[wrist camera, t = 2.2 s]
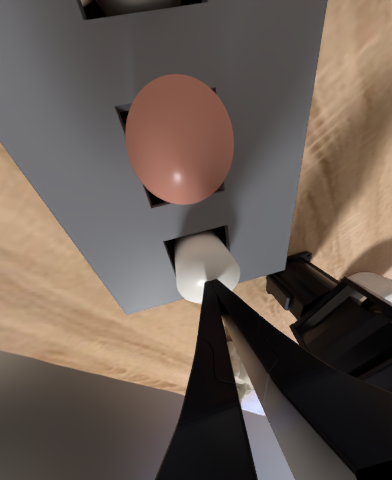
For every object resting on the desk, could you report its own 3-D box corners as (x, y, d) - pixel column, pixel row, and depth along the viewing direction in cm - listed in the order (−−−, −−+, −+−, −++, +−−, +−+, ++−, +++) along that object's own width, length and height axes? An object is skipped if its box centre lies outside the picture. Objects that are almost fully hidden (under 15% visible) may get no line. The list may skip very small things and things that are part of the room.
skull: (241, 424, 33) (202, 406, 21) (229, 380, 40) (194, 346, 28) (290, 407, 32) (280, 378, 20) (269, 364, 39) (252, 323, 27)
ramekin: (386, 272, 27) (430, 293, 23) (343, 309, 31) (373, 334, 27) (354, 260, 24) (399, 283, 19) (311, 304, 28) (339, 331, 23)
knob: (216, 220, 12) (238, 245, 8) (221, 259, 14) (241, 293, 10) (168, 232, 12) (168, 264, 8) (180, 270, 14) (185, 309, 10)
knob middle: (202, 111, 9) (230, 63, 5) (211, 184, 11) (236, 192, 7) (133, 124, 8) (102, 86, 4) (156, 197, 11) (149, 214, 7)
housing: (266, -121, 7) (417, -566, 3) (256, 245, 18) (284, 269, 14) (-65, -91, 6) (-623, -712, 2) (137, 278, 17) (126, 315, 13)
